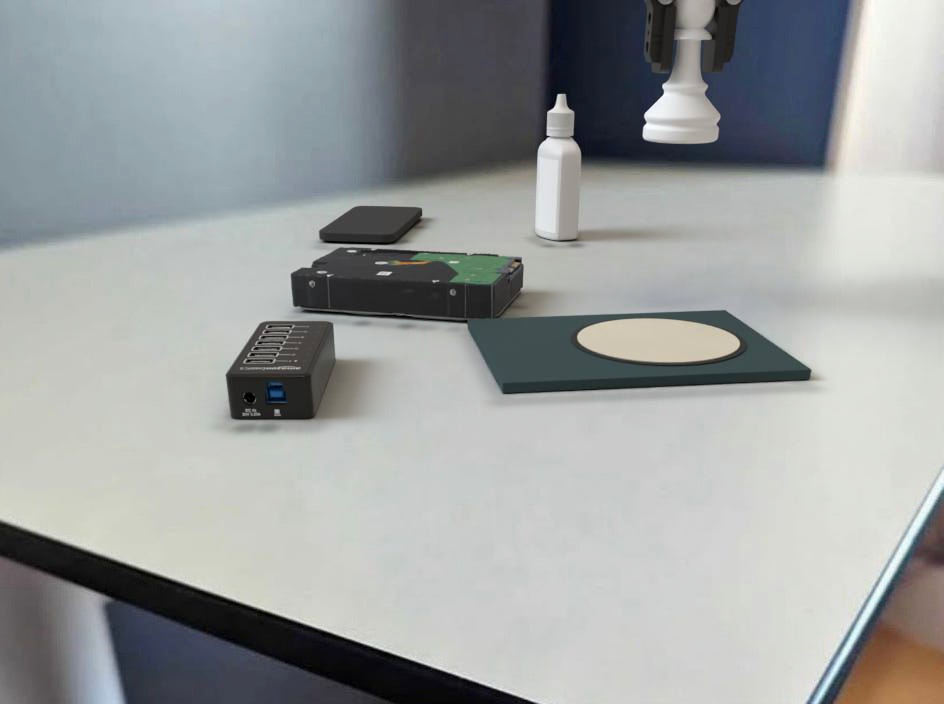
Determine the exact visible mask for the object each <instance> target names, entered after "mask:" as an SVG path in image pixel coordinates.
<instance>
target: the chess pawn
mask: <svg viewBox="0 0 944 704" xmlns="http://www.w3.org/2000/svg"><path fill="white" fill-rule="evenodd" d="M715 5H716V4H715V0H673V2H672V6H677V9H676V20H675V31H674V41H675V40H676V41H677V43H676V51H675V57H674V62H673V67H672V69H671V70H672V71H671V74H670V76H669V78H668V79H667V81H666V82H664V83H662V90H663V95H662V96H661V97H659V98H658V100H657V101H656V102H655V103H653V105H652V106H650V108H649V109H648V110H647V111H646V112H645V113H644V115H643V118H644V120H645V124H644V126H643V127H642V139H643V140H644V141H646V142H647V141H648V142H651V143H657V144H658V143H659V144H674V145H675V144H678V145H680V144H681V145H695V144H697V145H698V144H709V143H710V144H711V143H714V142H716V141H717V140H718V139H719V133H720V127H719V126H718V125H717V124H718V123H719V121H720V120H721V114H720V112H719V111H718V110H717V109H716V107H715V105H713V103H712V102H711V100H709V98H708V97H707V96H706V91H707V90H708V88H709V85H708V84H707V83H706V82H705V81H704V80H703V76H702V68H701V61H702V60H701V55H702V41H705V40H711V39H712V35H711V34H710V32H709V31H707V30H706V27H707V25H708V24H709V23H710V21H711V20H712V18H713V16H714V12H715Z"/></svg>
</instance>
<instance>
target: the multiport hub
mask: <svg viewBox="0 0 944 704" xmlns="http://www.w3.org/2000/svg"><path fill="white" fill-rule="evenodd" d="M335 345H336V344H335V329H334V323H333V322H331V321H329V320H328V321H327V320H266V321H262V322H260V323H259V324H258V325H257V327H256V328H255V330H254V331H253V332H252V334H251V336H250V337H249V339H248V340H247V342H246V343H245V345H244V346H243V348H242V349H241V351H240V352H239V354H238V355H237V356H236V358H235V360H234V361H233V362H232V364H231V366H230V367H229V368H228V370H227V371H226V373H225V383H226V391H227V398H228V406H229V407H228V408H229V414H230V415H229V416H230V418H232V419H237V420H238V419H245V420H246V419H247V420H248V419H251V420H252V419H256V420H257V419H258V420H259V419H260V420H261V419H262V420H263V419H264V420H265V419H268V420H269V419H270V420H272V419H274V420H275V419H276V420H277V419H278V420H279V419H280V420H281V419H283V420H284V419H288V420H289V419H292V420H294V419H301V420H302V419H304V420H305V419H306V420H307V419H311V418H314V417H315V415H316V413H317V410H318V407H319V405H320V402H321V399H322V397H323V395H324V392H325V389H326V386H327V384H328V382H329V378H330V376H331V373H332V370H333V369H334V366H335V363H336V360H337V358H336V346H335Z"/></svg>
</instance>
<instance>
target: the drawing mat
mask: <svg viewBox="0 0 944 704" xmlns="http://www.w3.org/2000/svg"><path fill="white" fill-rule="evenodd" d="M467 329H468V331H469V333H470V335H471V337H472V338H473V341H474V342H475V344H476V346H477V348H478V350H479V352H480V353H481V355H482V357H483V360H484V361H485V363H486V365H487V366H488V368H489V370H490V373H491V374H492V375H493V378H494V380H495V381H496V383H497V385H498V387H499V389H500V391H501V393H502V394H513V393H534V392H537V393H538V392H552V391H553V392H555V391H556V392H558V391H577V390H578V391H580V390H599V389H603V390H604V389H622V388H642V387H643V388H645V387H666V386H667V387H668V386H669V387H671V386H689V385H692V386H693V385H711V384H713V385H714V384H733V383H754V382H755V383H757V382H758V383H759V382H776V381H777V382H779V381H781V382H782V381H801V380H802V381H803V380H810V379H811V373H812V369H811V368H810V367H809V366H807V365H806V364H805V363H803V362H802V361H800V360H799V359H797V358H796V357H794V356H793V355H791V354H790V353H789V352H787V351H786V350H784V349H782V347H780V346H778V345H777V344H775V343H774V342H772V340H769V338H767V337H765V336H764V335H763V334H761V333H759V332H758V331H757V330H755V329H753V328H752V327H751V326H749V325H748V324H746V323H745V322H744V321H742V320H741V319H739V318H737V317H736V316H735V315H734V314H732V313H730V312H729V311H728V310H727V309H716V310H715V309H714V310H686V311H666V312H665V311H661V312H659V311H658V312H633V313H632V312H631V313H604V314H578V315H576V314H573V315H551V316H550V315H547V316H546V315H545V316H526V317H525V316H522V317H521V316H519V317H497V318H496V317H495V318H491V319H468V320H467Z"/></svg>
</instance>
